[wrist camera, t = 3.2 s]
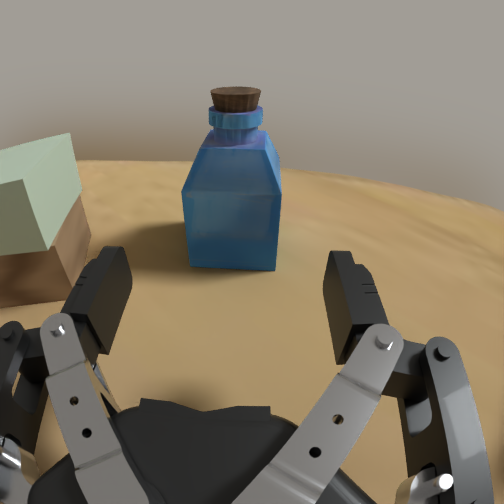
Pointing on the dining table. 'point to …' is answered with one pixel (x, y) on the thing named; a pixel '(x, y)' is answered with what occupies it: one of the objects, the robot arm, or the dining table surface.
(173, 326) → the dining table surface
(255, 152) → the perfume bottle
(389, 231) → the dining table surface
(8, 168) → the tower top block
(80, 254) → the tower base block
